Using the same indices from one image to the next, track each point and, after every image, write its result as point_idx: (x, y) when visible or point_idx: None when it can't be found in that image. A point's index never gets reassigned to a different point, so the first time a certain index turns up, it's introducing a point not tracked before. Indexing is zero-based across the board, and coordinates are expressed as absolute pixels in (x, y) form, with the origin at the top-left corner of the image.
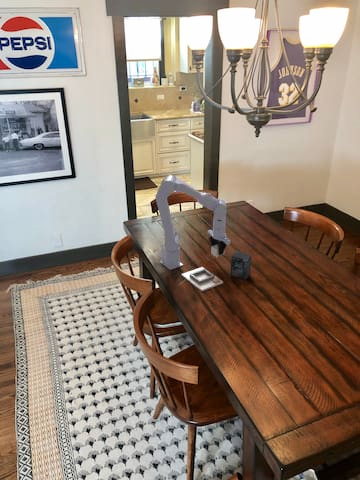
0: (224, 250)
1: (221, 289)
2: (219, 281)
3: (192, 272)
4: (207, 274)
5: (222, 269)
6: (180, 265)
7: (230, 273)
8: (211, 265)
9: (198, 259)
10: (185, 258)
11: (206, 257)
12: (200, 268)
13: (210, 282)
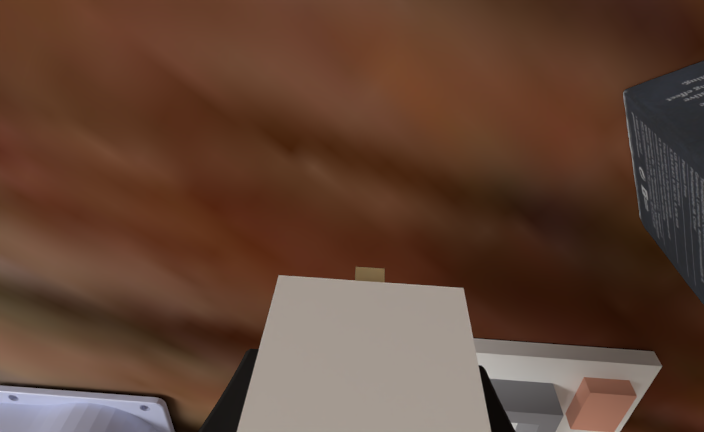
0: (476, 375)
1: (693, 407)
2: (627, 385)
3: None
4: None
5: (465, 192)
6: (163, 423)
7: (659, 242)
8: (300, 226)
9: (95, 246)
10: (28, 320)
11: (76, 145)
12: None
13: (563, 429)
